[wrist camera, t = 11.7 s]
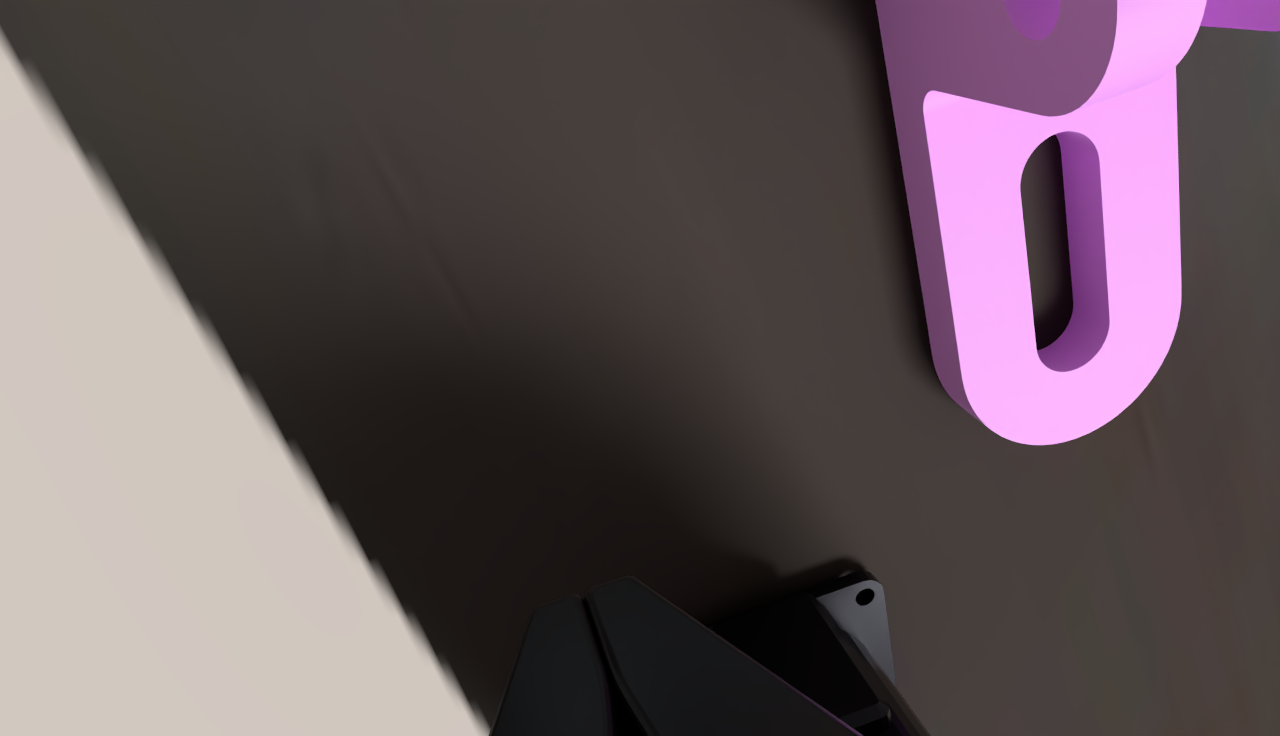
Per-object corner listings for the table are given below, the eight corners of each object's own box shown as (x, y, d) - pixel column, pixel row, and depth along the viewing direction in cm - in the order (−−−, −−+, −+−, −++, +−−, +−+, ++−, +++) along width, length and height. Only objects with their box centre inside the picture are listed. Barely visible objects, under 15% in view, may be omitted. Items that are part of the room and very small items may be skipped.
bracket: (852, -119, 18) (1109, -160, 12) (1115, -204, 18) (1491, -288, 12) (945, 452, 24) (1149, 627, 17) (1142, 371, 24) (1407, 514, 18)
